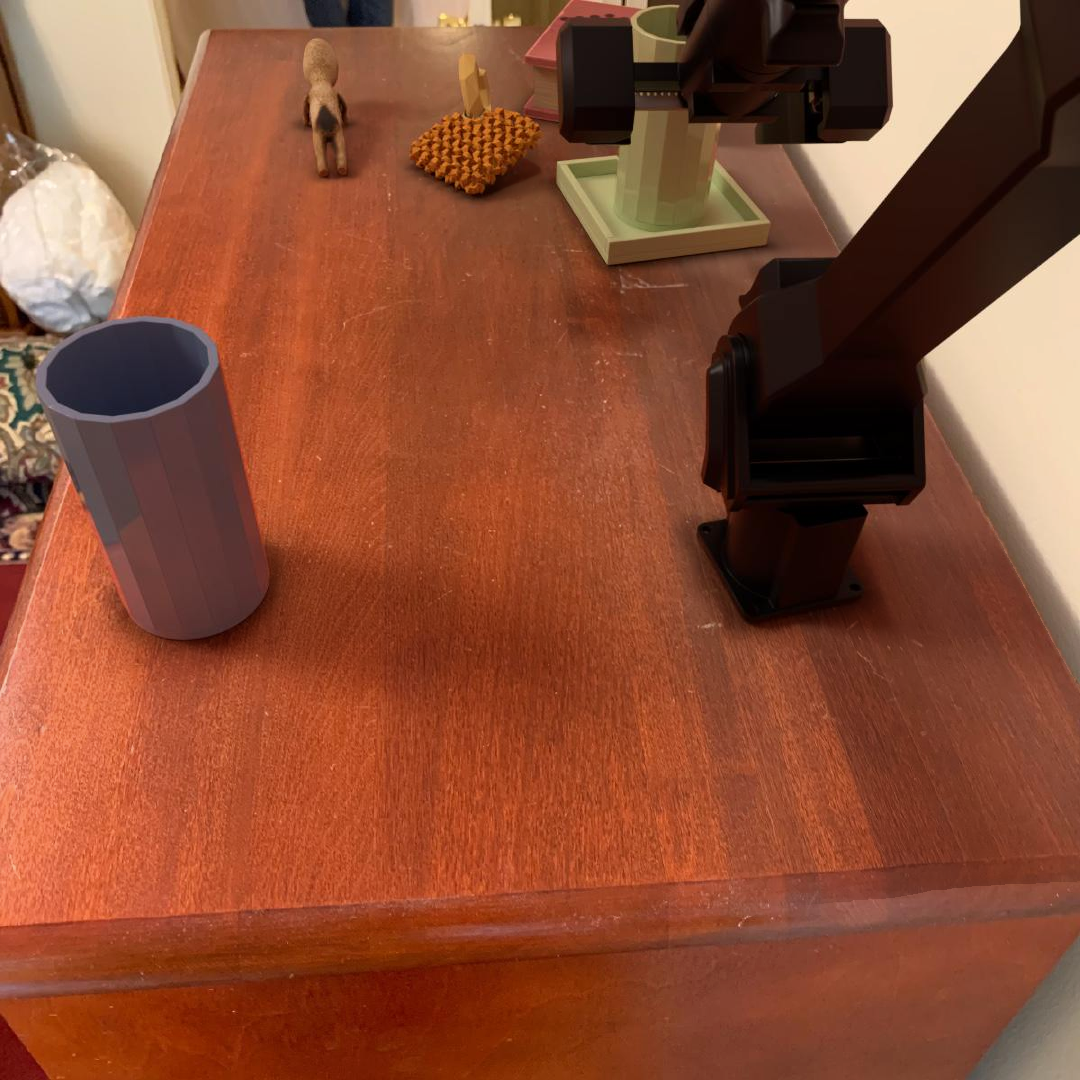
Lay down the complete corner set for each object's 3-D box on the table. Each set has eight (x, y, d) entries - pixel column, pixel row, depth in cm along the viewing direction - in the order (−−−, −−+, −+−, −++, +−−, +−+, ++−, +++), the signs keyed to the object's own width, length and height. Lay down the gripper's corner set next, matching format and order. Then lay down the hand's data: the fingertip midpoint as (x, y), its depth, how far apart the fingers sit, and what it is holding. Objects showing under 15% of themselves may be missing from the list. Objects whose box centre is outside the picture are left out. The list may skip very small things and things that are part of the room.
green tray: (766, 245, 73) (771, 222, 71) (607, 265, 70) (609, 242, 69) (701, 167, 81) (704, 146, 79) (555, 183, 78) (557, 161, 77)
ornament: (534, 139, 72) (531, 16, 79) (392, 164, 73) (403, 40, 81) (550, 214, 77) (546, 92, 85) (418, 235, 79) (426, 113, 87)
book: (698, 145, 83) (707, 84, 80) (523, 116, 86) (524, 55, 83) (727, 80, 93) (737, 22, 89) (569, 55, 96) (572, -2, 92)
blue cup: (277, 623, 47) (224, 405, 38) (125, 653, 46) (31, 434, 36) (262, 523, 52) (212, 306, 42) (123, 547, 50) (39, 328, 41)
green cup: (663, 243, 71) (690, 52, 62) (594, 207, 75) (609, 20, 65) (723, 212, 75) (757, 26, 65) (654, 178, 78) (677, -3, 69)
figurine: (359, 196, 80) (342, 78, 87) (354, 148, 76) (337, 28, 83) (311, 200, 79) (299, 80, 86) (304, 151, 75) (291, 30, 83)
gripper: (940, -146, 50) (823, 12, 66) (569, -154, 49) (539, 10, 64) (947, 78, 50) (829, 183, 66) (578, 79, 49) (546, 186, 64)
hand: (688, 137), depth 65 cm, fingers open, 9 cm apart
